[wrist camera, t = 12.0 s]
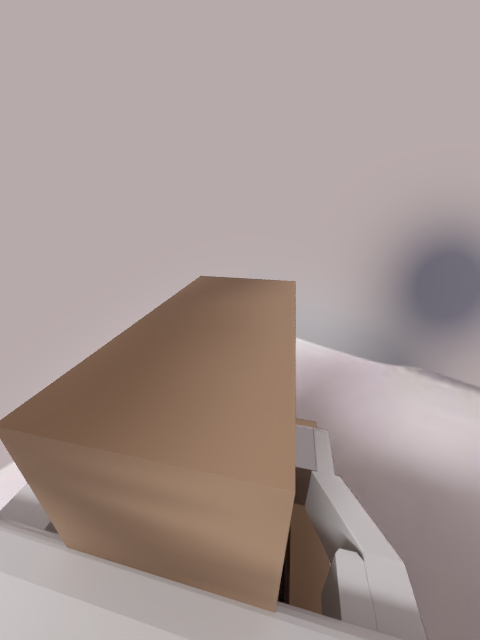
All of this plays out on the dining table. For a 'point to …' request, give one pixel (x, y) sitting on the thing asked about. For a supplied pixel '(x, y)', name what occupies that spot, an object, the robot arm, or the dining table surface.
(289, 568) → the wooden rectangular frame
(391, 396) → the dining table surface
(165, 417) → the block
